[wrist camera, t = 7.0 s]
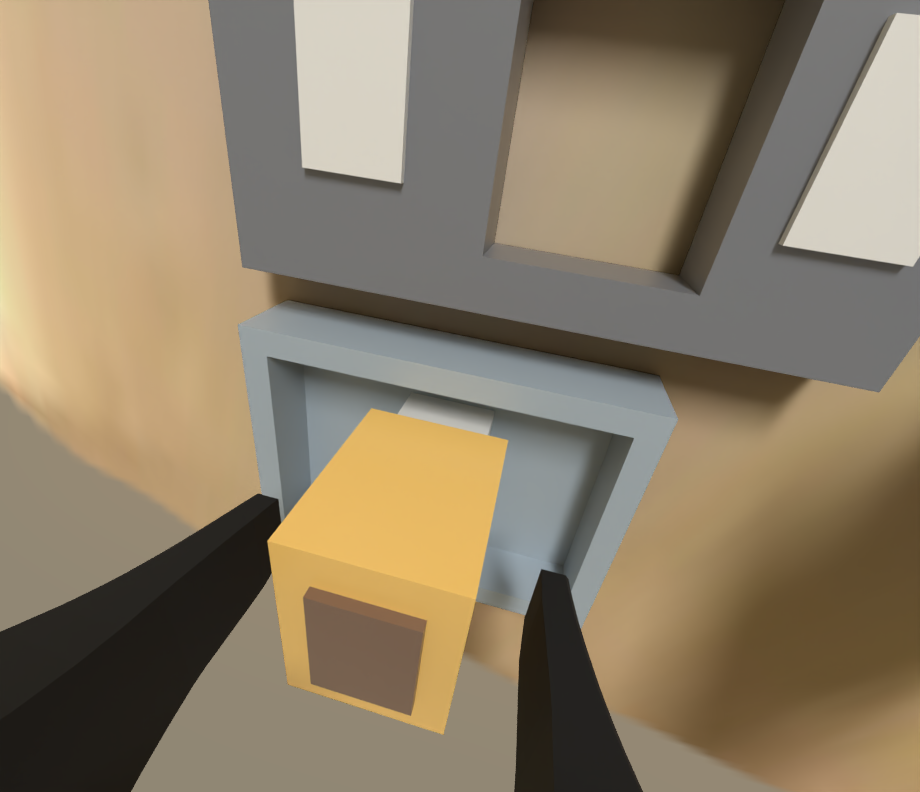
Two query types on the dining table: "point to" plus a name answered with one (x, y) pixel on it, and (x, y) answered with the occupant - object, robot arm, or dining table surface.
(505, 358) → the parts tray
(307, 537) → the block
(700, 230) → the panel
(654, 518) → the dining table surface
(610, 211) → the dining table surface
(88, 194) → the dining table surface
